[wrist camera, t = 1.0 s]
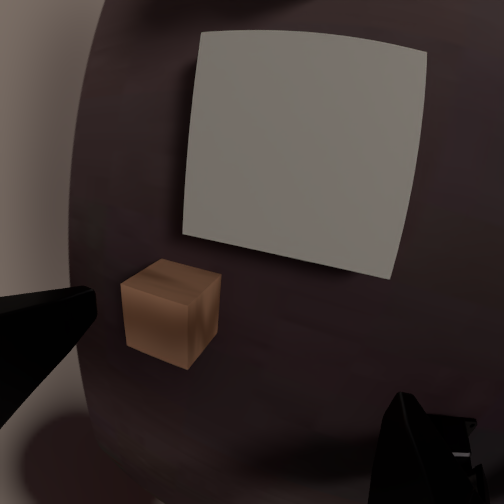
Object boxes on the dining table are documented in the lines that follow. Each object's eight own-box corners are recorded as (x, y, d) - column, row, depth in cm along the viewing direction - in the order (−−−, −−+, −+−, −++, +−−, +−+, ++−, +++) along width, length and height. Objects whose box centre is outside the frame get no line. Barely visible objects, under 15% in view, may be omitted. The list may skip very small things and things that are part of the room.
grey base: (385, 260, 18) (389, 279, 16) (204, 222, 21) (182, 233, 19) (417, 66, 14) (427, 52, 11) (222, 45, 17) (201, 32, 14)
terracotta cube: (217, 332, 24) (187, 369, 20) (162, 314, 26) (127, 345, 21) (221, 273, 22) (187, 305, 18) (161, 258, 24) (120, 283, 19)
